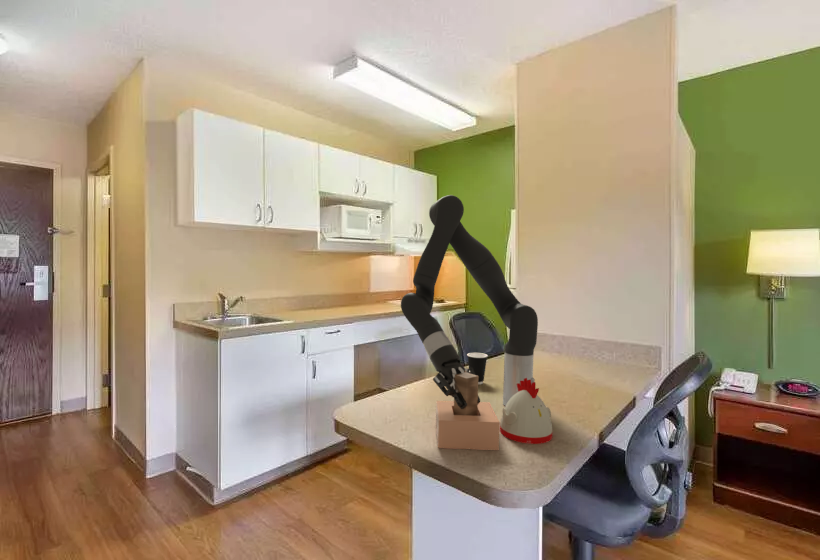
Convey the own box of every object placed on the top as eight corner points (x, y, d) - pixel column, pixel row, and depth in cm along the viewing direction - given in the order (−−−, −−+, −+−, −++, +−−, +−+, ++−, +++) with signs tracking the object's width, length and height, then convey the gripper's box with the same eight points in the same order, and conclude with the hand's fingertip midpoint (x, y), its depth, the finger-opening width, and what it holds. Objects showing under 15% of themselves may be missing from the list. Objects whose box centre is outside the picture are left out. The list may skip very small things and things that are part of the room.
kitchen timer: (521, 447, 105) (523, 388, 105) (489, 427, 118) (491, 374, 117) (563, 439, 111) (565, 383, 110) (529, 421, 123) (531, 370, 123)
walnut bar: (464, 423, 114) (466, 372, 113) (476, 428, 110) (478, 376, 110) (453, 426, 111) (454, 374, 110) (465, 432, 108) (466, 378, 107)
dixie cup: (491, 384, 160) (491, 356, 160) (473, 386, 157) (474, 357, 157) (479, 379, 168) (480, 352, 167) (462, 381, 164) (463, 353, 164)
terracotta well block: (488, 426, 118) (489, 402, 118) (498, 450, 103) (499, 422, 103) (435, 424, 118) (436, 400, 118) (438, 448, 103) (438, 420, 103)
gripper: (428, 346, 111) (459, 403, 102) (465, 341, 120) (497, 393, 111) (415, 362, 116) (444, 418, 107) (452, 356, 124) (481, 407, 115)
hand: (471, 405), depth 109 cm, fingers closed on walnut bar, 4 cm apart
